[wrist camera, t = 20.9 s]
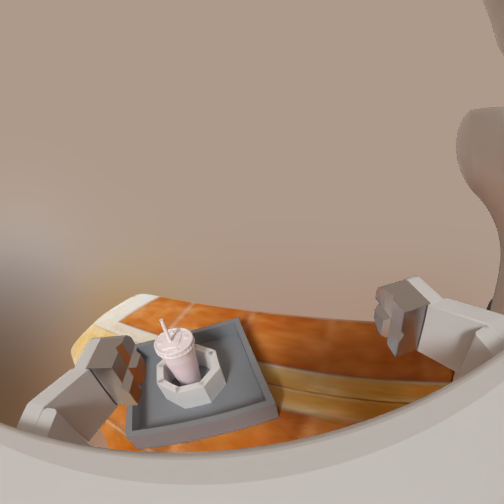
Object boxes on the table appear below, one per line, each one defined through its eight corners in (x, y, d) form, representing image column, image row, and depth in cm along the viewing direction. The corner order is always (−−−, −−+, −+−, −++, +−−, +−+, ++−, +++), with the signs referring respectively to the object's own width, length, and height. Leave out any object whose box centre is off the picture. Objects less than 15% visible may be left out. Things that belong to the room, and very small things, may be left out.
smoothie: (166, 387, 42) (134, 325, 36) (187, 363, 47) (162, 301, 42) (195, 400, 39) (165, 336, 33) (216, 373, 44) (193, 309, 39)
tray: (242, 332, 55) (237, 312, 53) (278, 417, 35) (274, 398, 33) (140, 359, 51) (130, 340, 49) (138, 449, 31) (121, 432, 29)
